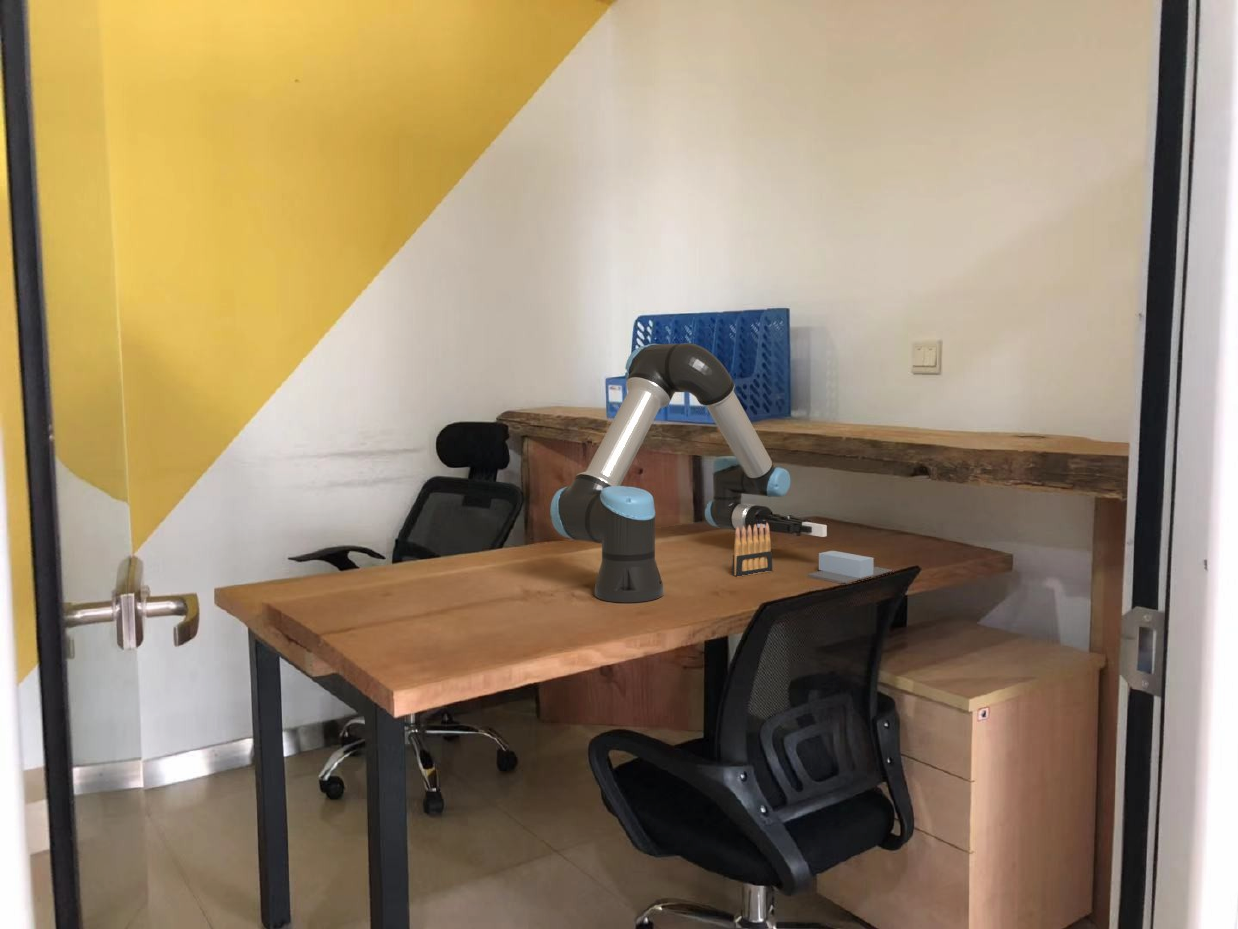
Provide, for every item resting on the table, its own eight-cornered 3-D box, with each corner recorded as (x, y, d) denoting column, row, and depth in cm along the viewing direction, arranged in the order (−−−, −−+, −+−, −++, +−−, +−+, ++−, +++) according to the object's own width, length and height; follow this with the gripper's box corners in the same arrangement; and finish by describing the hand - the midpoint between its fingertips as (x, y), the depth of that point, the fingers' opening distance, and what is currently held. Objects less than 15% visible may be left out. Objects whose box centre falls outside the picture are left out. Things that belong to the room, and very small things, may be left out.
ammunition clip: (736, 577, 223) (736, 527, 222) (732, 575, 225) (731, 526, 223) (772, 571, 228) (772, 522, 227) (767, 570, 230) (767, 521, 229)
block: (818, 569, 226) (860, 578, 217) (818, 553, 226) (860, 561, 217) (832, 566, 230) (873, 574, 220) (832, 550, 229) (873, 557, 220)
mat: (845, 584, 214) (845, 582, 214) (807, 576, 222) (807, 574, 222) (893, 572, 225) (893, 570, 225) (855, 565, 233) (855, 563, 233)
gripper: (771, 530, 250) (842, 542, 232) (735, 536, 242) (806, 550, 224) (771, 502, 250) (842, 512, 231) (735, 507, 242) (806, 518, 223)
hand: (824, 531), depth 227 cm, fingers closed
